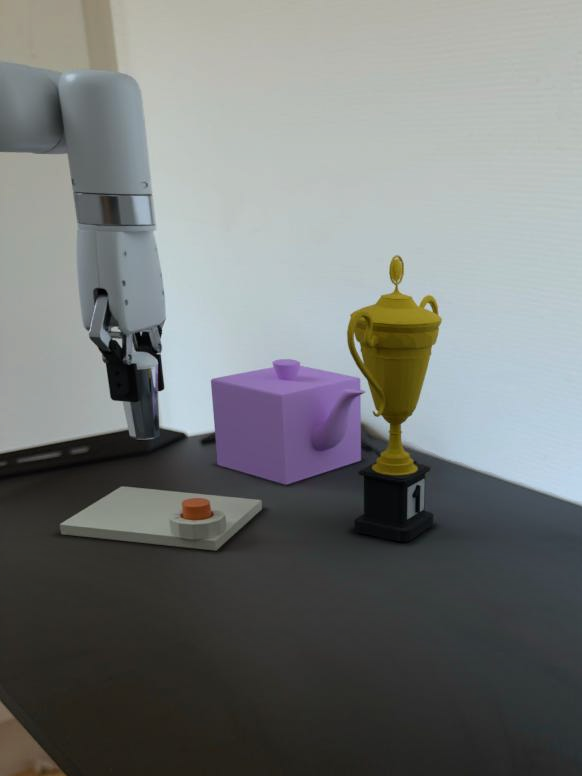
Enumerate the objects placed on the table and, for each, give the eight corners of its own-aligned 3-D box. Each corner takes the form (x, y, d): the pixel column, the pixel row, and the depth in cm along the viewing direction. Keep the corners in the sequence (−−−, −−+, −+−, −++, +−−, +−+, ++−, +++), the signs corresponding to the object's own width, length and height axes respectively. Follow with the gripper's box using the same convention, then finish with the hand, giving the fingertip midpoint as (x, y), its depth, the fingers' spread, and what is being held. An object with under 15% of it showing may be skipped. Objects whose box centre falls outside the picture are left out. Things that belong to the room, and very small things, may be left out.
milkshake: (110, 440, 102) (97, 347, 97) (137, 428, 106) (126, 338, 102) (147, 445, 101) (136, 350, 96) (173, 433, 106) (163, 342, 101)
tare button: (178, 520, 101) (176, 505, 100) (190, 511, 103) (188, 496, 103) (204, 523, 100) (203, 507, 100) (215, 514, 103) (214, 499, 102)
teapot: (326, 496, 118) (324, 385, 112) (193, 457, 130) (183, 355, 124) (400, 470, 130) (401, 368, 123) (271, 437, 141) (266, 342, 135)
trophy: (390, 564, 100) (392, 265, 86) (314, 546, 103) (304, 256, 89) (466, 512, 115) (478, 253, 102) (397, 499, 119) (400, 246, 105)
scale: (58, 535, 102) (54, 510, 101) (122, 495, 115) (119, 471, 114) (214, 552, 100) (212, 526, 99) (262, 509, 113) (260, 485, 112)
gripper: (122, 208, 101) (142, 377, 110) (32, 215, 86) (64, 410, 95) (187, 212, 101) (202, 382, 109) (108, 219, 86) (133, 416, 94)
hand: (138, 393), depth 102 cm, fingers closed on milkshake, 4 cm apart
